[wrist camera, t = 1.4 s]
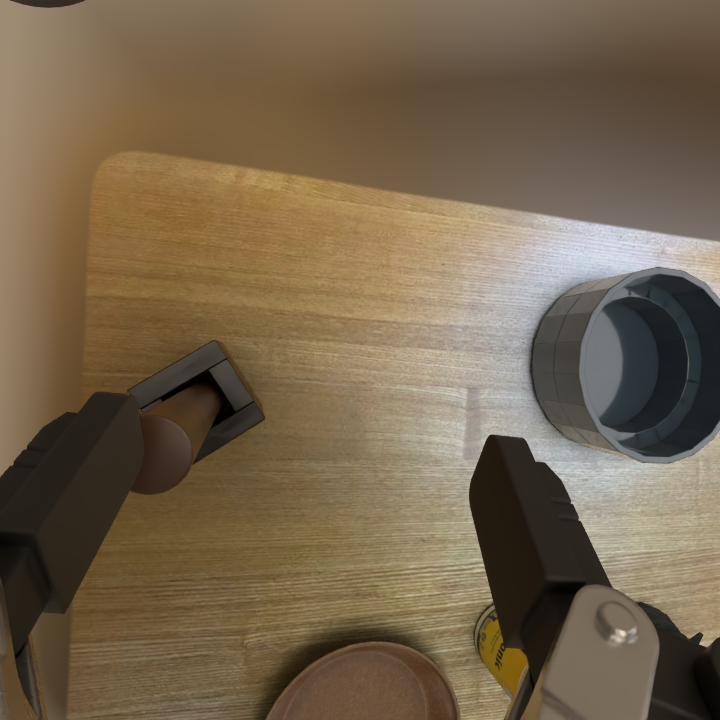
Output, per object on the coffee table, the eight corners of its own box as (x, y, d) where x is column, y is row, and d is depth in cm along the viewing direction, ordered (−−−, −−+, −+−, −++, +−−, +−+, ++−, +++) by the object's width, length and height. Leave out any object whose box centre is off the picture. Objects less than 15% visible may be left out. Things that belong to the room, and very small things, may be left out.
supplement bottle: (508, 584, 38) (596, 661, 28) (544, 631, 39) (641, 722, 29) (458, 632, 37) (532, 729, 27) (496, 679, 38) (581, 790, 28)
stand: (152, 382, 31) (126, 390, 25) (221, 342, 32) (215, 339, 26) (195, 446, 32) (181, 471, 25) (262, 405, 33) (265, 419, 26)
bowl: (499, 335, 37) (545, 331, 32) (626, 250, 40) (691, 233, 34) (577, 479, 39) (635, 501, 33) (694, 389, 42) (767, 395, 36)
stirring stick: (185, 389, 32) (89, 444, 13) (214, 372, 32) (164, 399, 13) (203, 416, 32) (136, 511, 13) (231, 399, 33) (208, 465, 13)
